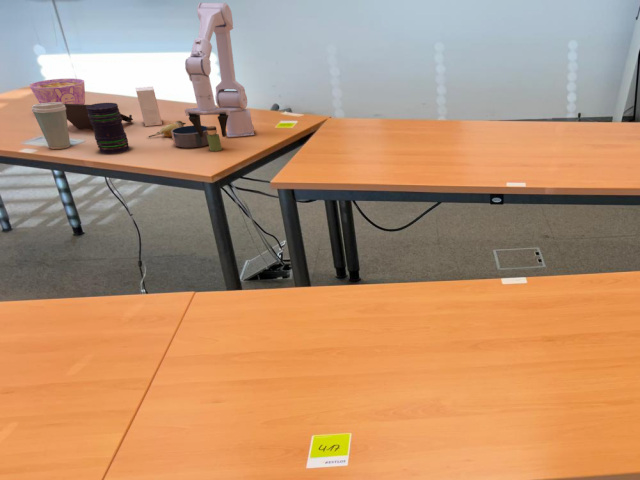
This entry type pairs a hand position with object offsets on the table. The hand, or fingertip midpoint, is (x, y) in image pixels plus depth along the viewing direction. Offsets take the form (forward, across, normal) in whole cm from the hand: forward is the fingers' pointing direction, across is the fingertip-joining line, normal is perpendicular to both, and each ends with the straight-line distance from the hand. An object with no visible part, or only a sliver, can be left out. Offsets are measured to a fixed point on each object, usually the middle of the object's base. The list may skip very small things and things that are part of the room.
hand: (213, 136), depth 253 cm
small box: (+5, -34, +41) cm, 54 cm away
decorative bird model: (+5, -22, +20) cm, 30 cm away
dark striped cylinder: (+5, -35, +2) cm, 35 cm away
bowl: (+4, -10, +9) cm, 14 cm away
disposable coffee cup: (+5, -56, +8) cm, 57 cm away
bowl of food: (+5, -76, +64) cm, 100 cm away
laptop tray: (+5, -54, +37) cm, 66 cm away
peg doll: (+4, 0, 0) cm, 4 cm away
